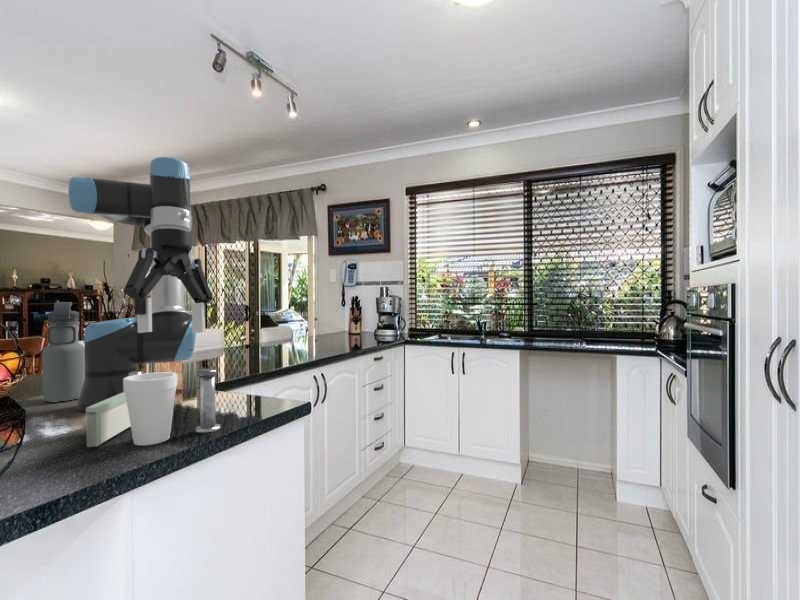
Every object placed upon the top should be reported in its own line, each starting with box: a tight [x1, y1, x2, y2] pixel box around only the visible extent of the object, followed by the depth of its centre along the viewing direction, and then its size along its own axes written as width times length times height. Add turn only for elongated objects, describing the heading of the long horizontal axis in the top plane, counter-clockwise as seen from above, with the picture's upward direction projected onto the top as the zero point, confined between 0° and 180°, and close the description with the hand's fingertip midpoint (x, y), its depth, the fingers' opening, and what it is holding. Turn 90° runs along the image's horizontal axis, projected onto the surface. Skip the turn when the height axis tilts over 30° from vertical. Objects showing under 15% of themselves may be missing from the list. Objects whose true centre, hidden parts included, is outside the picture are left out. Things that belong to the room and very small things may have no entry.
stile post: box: [194, 368, 222, 434], centre depth 92 cm, size 5×5×13 cm
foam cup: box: [123, 371, 178, 446], centre depth 86 cm, size 10×9×13 cm
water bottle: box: [41, 301, 85, 402], centre depth 121 cm, size 10×10×28 cm
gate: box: [85, 392, 131, 448], centre depth 87 cm, size 15×2×7 cm, turn 7°
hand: (173, 332), depth 86 cm, fingers open, 13 cm apart
